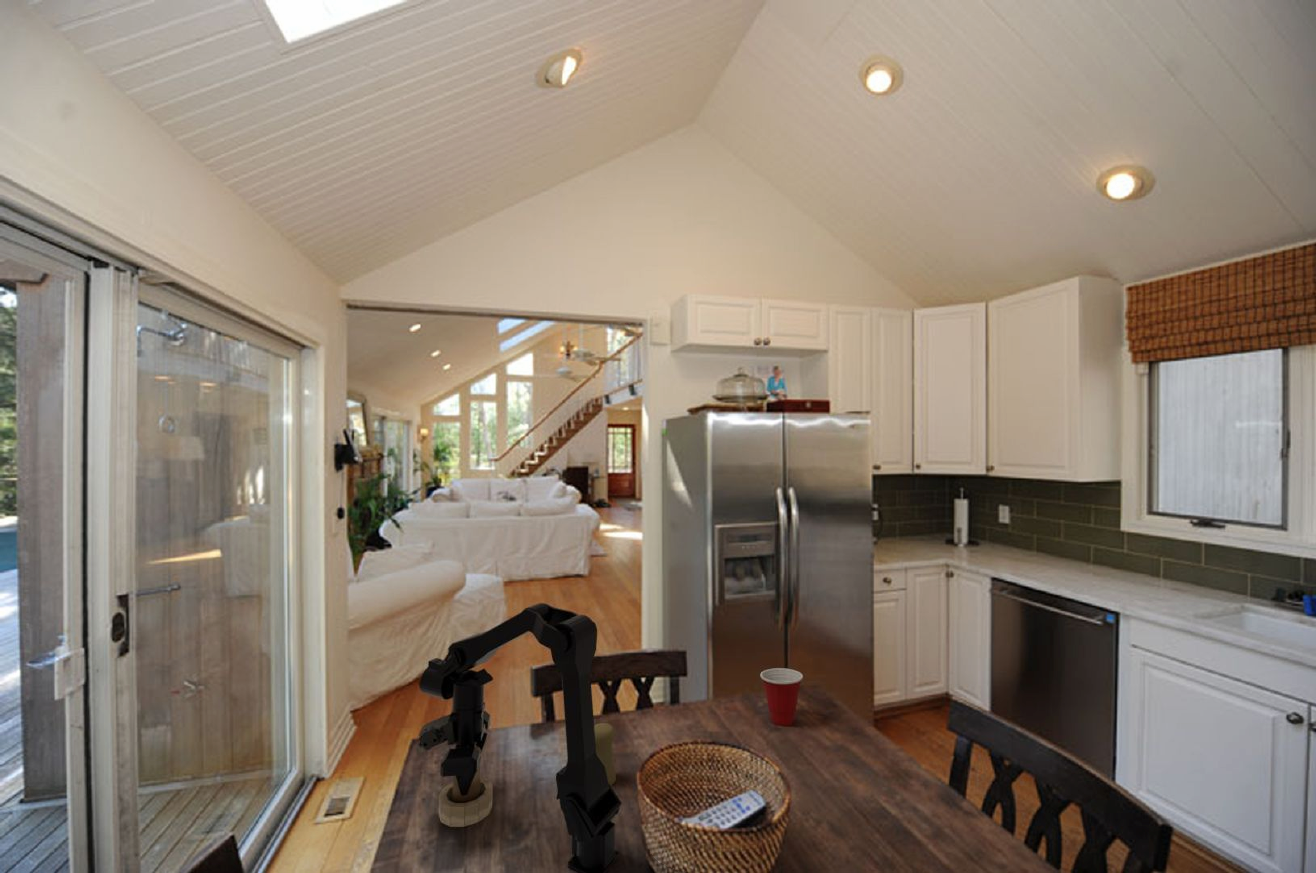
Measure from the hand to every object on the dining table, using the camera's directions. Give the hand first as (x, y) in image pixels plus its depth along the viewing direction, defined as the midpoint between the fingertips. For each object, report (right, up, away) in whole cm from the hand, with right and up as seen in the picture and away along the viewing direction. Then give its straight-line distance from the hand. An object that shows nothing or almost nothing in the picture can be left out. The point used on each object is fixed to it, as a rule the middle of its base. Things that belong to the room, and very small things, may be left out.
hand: (466, 786), depth 105 cm
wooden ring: (0, -5, 0) cm, 5 cm away
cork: (+25, -5, +10) cm, 27 cm away
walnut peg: (0, -3, 0) cm, 2 cm away
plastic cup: (+69, -7, +37) cm, 78 cm away
